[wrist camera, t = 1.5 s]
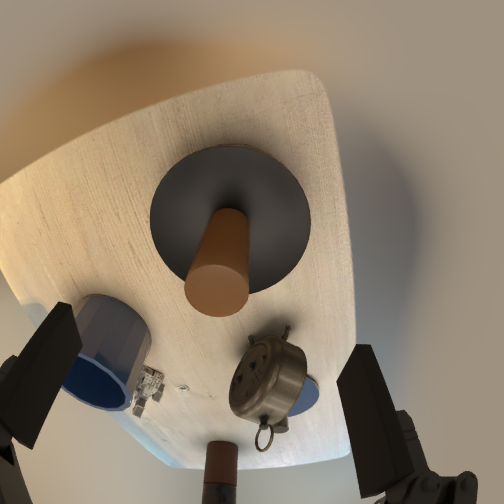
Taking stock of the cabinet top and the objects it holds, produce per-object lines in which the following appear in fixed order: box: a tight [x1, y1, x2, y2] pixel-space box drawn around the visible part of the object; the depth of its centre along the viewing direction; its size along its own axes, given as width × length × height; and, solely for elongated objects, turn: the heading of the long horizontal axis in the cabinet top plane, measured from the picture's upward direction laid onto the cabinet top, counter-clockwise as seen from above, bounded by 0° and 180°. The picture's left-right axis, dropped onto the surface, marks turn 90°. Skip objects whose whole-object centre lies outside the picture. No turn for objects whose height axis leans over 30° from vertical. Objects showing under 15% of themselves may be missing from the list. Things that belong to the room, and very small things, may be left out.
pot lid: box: [272, 377, 319, 433], centre depth 41 cm, size 14×14×7 cm
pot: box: [61, 295, 151, 411], centre depth 33 cm, size 13×13×10 cm
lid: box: [150, 145, 311, 317], centre depth 20 cm, size 14×14×10 cm
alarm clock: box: [229, 326, 307, 452], centre depth 31 cm, size 11×5×16 cm, turn 147°
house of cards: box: [133, 366, 189, 418], centre depth 40 cm, size 9×9×8 cm
